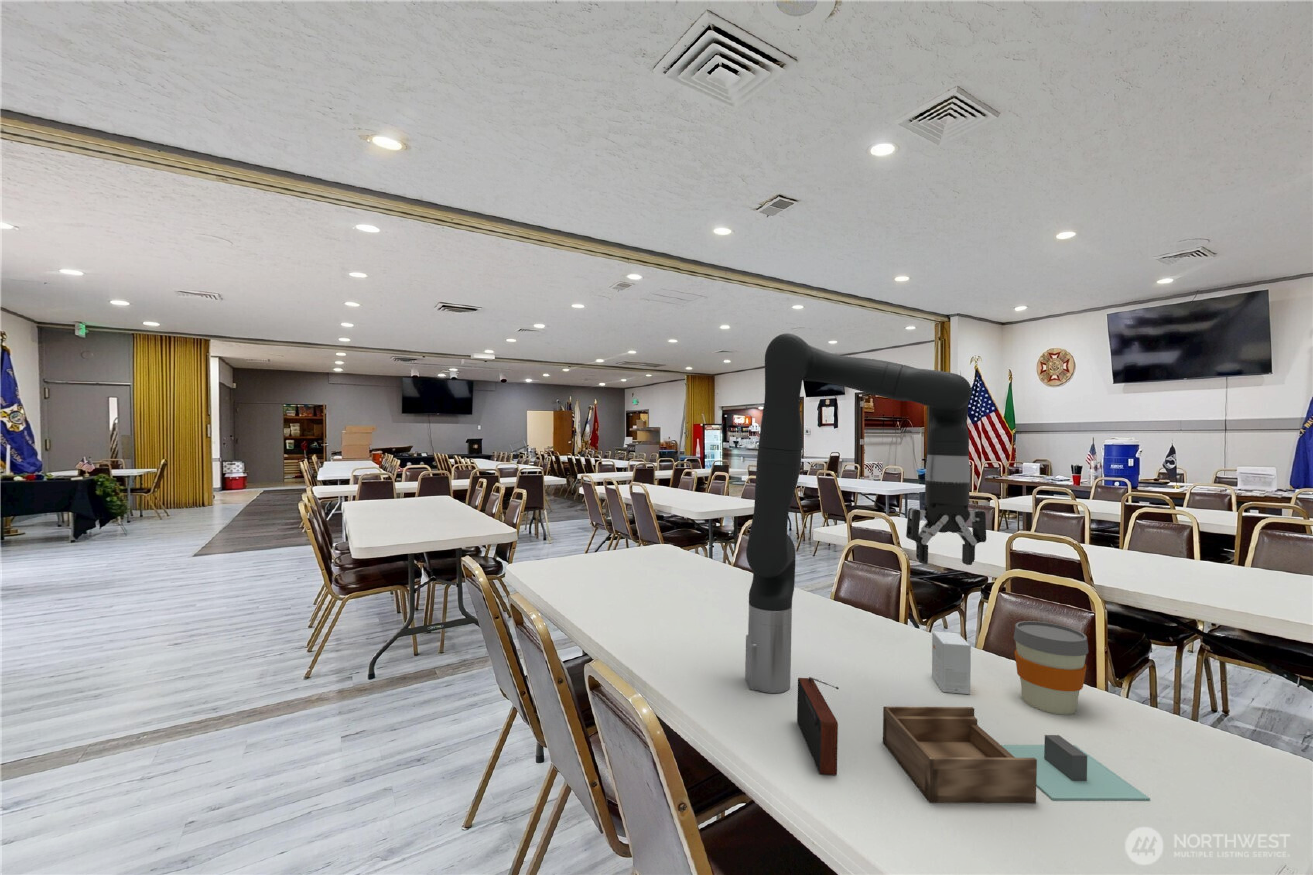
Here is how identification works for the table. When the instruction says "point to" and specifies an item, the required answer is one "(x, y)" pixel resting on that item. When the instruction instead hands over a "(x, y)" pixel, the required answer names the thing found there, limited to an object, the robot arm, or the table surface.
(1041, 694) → the reusable coffee cup
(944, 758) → the walnut box
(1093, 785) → the cover plate
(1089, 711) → the table surface
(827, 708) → the radio
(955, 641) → the small box
